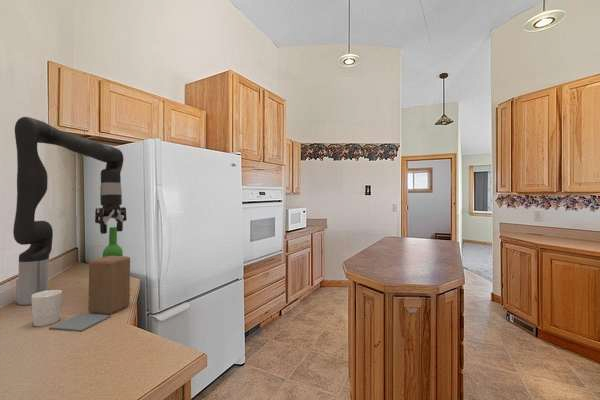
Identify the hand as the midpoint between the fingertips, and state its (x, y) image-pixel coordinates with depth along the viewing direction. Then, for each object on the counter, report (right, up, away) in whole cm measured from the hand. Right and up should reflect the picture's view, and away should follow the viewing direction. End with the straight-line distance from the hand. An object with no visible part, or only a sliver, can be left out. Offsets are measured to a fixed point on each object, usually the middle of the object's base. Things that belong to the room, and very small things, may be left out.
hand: (112, 232), depth 121 cm
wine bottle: (-7, -29, +10) cm, 32 cm away
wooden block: (+5, -29, -9) cm, 31 cm away
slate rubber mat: (+4, -29, -22) cm, 36 cm away
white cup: (-9, -29, -21) cm, 37 cm away
